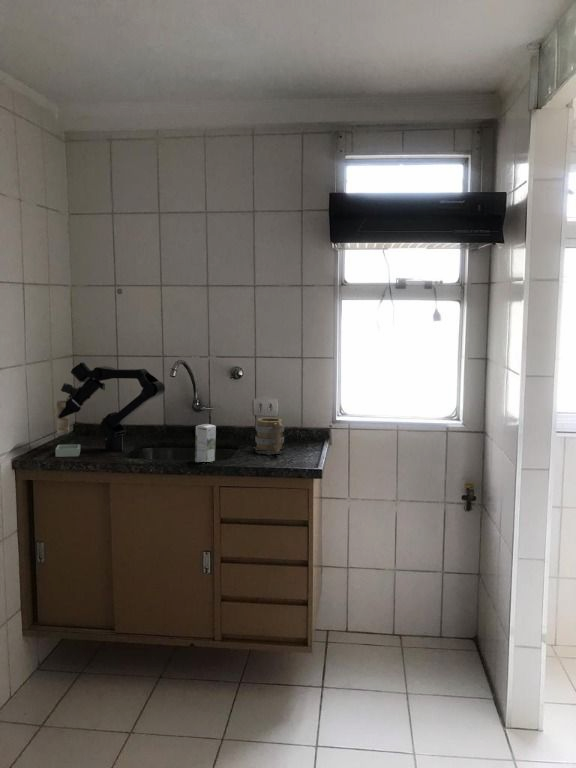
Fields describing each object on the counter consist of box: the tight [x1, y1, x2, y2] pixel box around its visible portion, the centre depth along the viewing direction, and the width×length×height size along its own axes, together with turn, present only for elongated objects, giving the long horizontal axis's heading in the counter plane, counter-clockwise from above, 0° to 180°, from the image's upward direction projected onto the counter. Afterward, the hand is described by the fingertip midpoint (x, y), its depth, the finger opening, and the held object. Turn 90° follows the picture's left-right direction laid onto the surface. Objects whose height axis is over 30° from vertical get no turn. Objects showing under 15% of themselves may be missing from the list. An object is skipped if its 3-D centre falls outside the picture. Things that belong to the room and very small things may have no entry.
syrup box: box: [194, 423, 217, 463], centre depth 255 cm, size 6×6×14 cm
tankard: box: [253, 417, 285, 452], centre depth 273 cm, size 20×13×15 cm, turn 18°
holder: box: [55, 443, 81, 458], centre depth 263 cm, size 9×9×3 cm
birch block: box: [56, 400, 70, 434], centre depth 271 cm, size 4×4×13 cm
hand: (59, 416), depth 270 cm, fingers closed on birch block, 4 cm apart
